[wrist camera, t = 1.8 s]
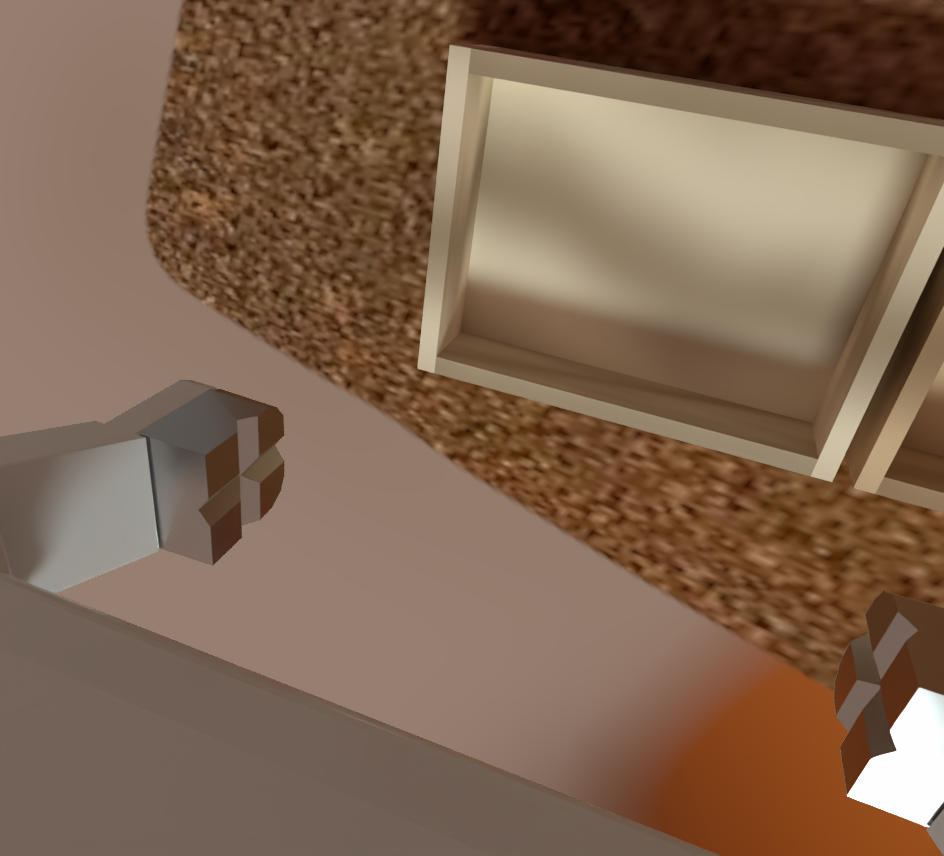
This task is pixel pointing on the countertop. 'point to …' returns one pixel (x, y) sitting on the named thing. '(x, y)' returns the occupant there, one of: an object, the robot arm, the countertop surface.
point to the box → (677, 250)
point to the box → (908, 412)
